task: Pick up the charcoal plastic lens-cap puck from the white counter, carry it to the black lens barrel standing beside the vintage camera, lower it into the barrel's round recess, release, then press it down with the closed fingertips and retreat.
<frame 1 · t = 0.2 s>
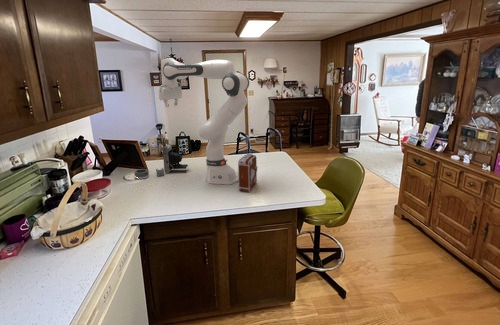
hand: (171, 106, 189), 47 cm above the kitchen counter, fingers open, 8 cm apart
lens cap: (160, 175, 199), on the kitchen counter
lens barrel: (142, 177, 197), on the kitchen counter
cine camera: (249, 186, 177), on the kitchen counter
vintage camera: (176, 171, 208), on the kitchen counter
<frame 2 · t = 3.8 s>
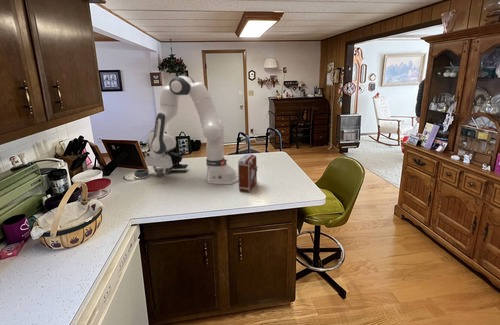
hand: (160, 172, 199), 2 cm above the kitchen counter, fingers closed on lens cap, 5 cm apart
lens cap: (160, 175, 199), on the kitchen counter, touching gripper
everything else where it was.
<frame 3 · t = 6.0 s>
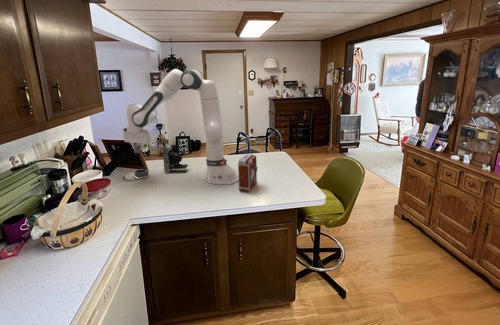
hand: (138, 149, 191), 20 cm above the kitchen counter, fingers closed on lens cap, 5 cm apart
lens cap: (138, 152, 192), point 18 cm above the kitchen counter, touching gripper
everything else where it was.
when the fingers open (5 cm above the kitchen counter, at t = 8.2 s): lens cap stays where it is, resting on lens barrel.
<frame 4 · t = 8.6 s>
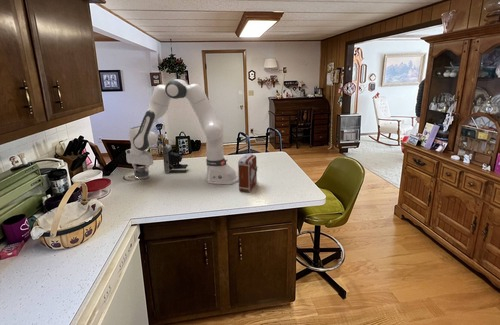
hand: (141, 170, 195), 5 cm above the kitchen counter, fingers open, 8 cm apart
lens cap: (141, 174, 196), point 2 cm above the kitchen counter, touching lens barrel
everything else where it was.
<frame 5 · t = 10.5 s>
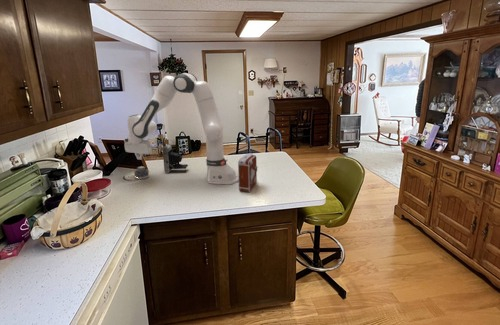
hand: (139, 159, 193), 13 cm above the kitchen counter, fingers closed
nothing on the kitchen counter moved.
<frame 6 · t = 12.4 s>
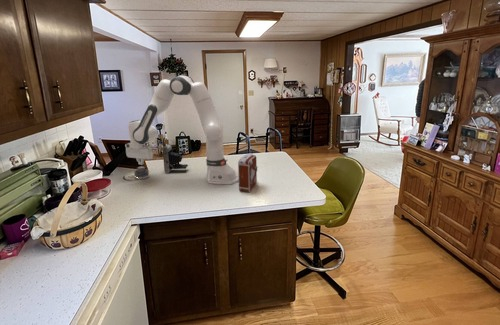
hand: (141, 164, 194), 9 cm above the kitchen counter, fingers closed
nothing on the kitchen counter moved.
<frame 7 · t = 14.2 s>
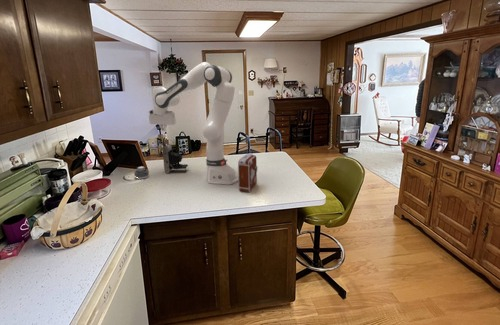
hand: (163, 130, 201), 30 cm above the kitchen counter, fingers closed
nothing on the kitchen counter moved.
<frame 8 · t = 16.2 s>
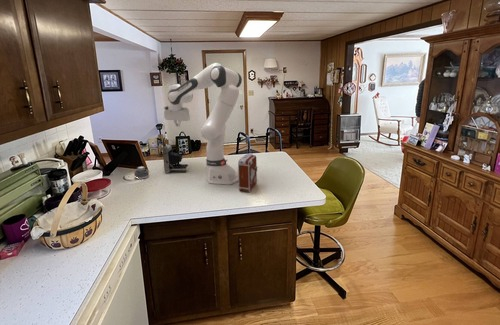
hand: (177, 126, 209), 31 cm above the kitchen counter, fingers closed
nothing on the kitchen counter moved.
at the end: lens cap 0.0 cm off-centre on the lens barrel, point 2.0 cm above the lens barrel's base; lens cap tilted 0°; the gripper is holding nothing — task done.
